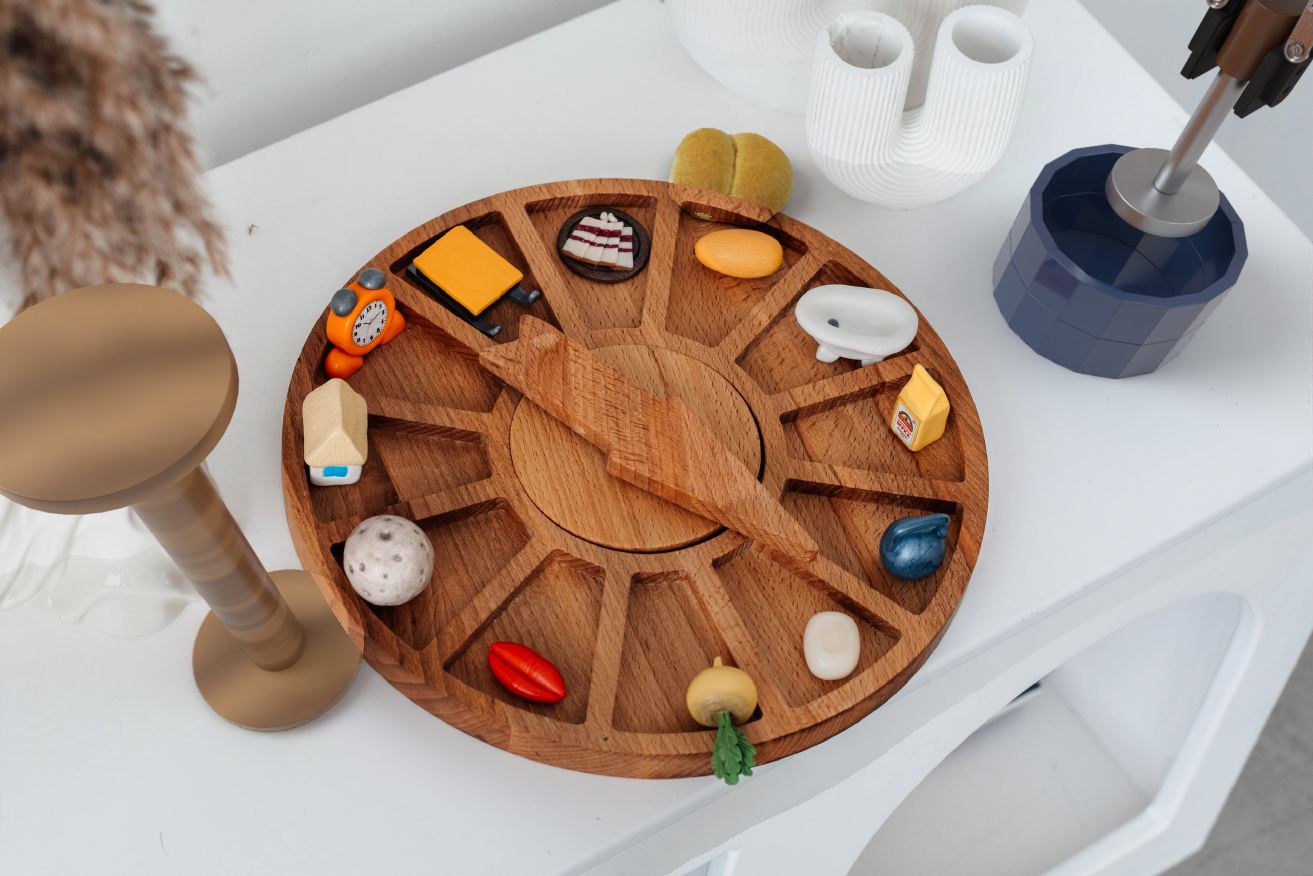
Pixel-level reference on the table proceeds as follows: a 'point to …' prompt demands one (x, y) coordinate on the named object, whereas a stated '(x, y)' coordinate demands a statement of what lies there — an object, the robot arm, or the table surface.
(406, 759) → the table surface
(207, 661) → the cake stand
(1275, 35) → the masher
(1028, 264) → the pot
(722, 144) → the bread roll
